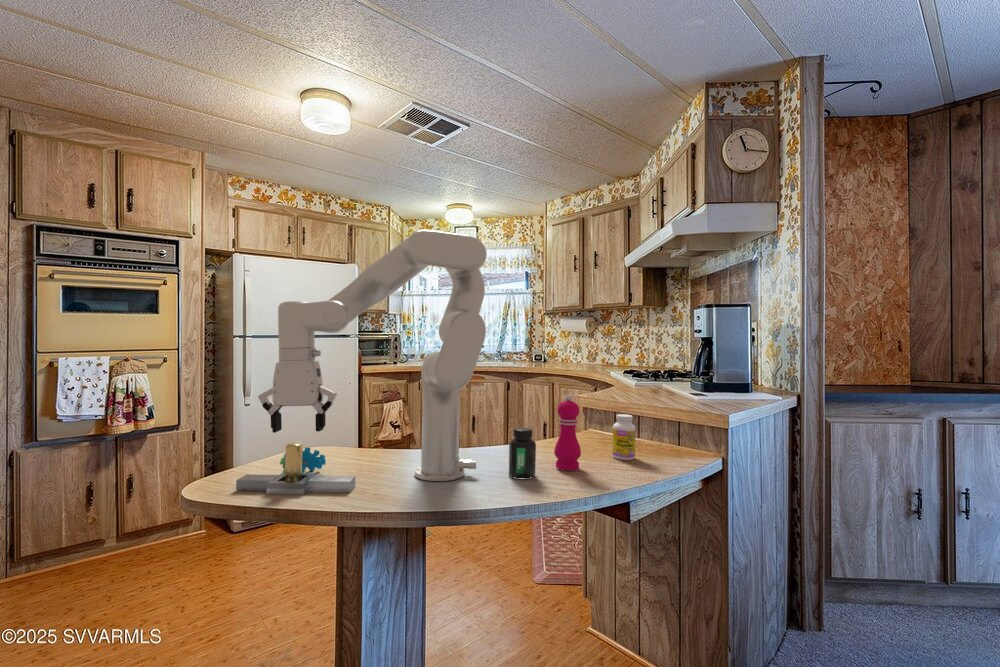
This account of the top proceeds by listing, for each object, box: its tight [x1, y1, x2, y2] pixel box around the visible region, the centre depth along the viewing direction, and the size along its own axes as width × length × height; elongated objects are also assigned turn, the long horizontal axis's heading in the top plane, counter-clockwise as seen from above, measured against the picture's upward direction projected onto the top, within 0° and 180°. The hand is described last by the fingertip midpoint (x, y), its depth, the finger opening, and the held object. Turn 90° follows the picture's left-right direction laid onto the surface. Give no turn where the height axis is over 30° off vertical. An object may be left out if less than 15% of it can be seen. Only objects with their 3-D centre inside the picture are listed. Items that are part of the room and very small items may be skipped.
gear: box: [279, 447, 327, 473], centre depth 117 cm, size 11×6×10 cm
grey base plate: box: [235, 472, 357, 495], centre depth 106 cm, size 25×8×2 cm, turn 91°
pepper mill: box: [553, 394, 582, 471], centre depth 129 cm, size 7×7×20 cm
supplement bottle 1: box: [508, 427, 537, 478], centre depth 120 cm, size 7×7×12 cm
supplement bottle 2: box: [611, 413, 637, 461], centre depth 141 cm, size 7×7×13 cm
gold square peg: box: [285, 442, 304, 481], centre depth 107 cm, size 4×4×10 cm
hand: (298, 430), depth 107 cm, fingers open, 9 cm apart
